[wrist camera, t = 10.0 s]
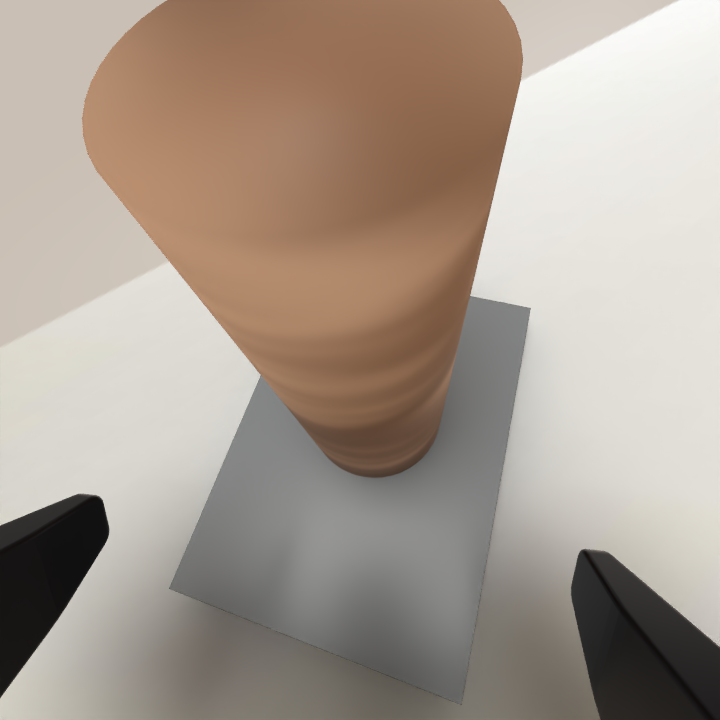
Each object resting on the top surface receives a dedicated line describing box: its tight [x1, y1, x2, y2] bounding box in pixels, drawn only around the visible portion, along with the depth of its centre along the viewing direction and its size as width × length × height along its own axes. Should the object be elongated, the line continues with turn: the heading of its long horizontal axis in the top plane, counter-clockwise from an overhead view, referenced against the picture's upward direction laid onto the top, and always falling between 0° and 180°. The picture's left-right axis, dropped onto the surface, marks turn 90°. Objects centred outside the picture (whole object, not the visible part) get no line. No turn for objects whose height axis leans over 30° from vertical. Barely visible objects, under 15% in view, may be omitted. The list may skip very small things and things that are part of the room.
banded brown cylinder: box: [82, 0, 523, 478], centre depth 11 cm, size 5×5×13 cm
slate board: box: [169, 296, 531, 705], centre depth 17 cm, size 14×10×2 cm
